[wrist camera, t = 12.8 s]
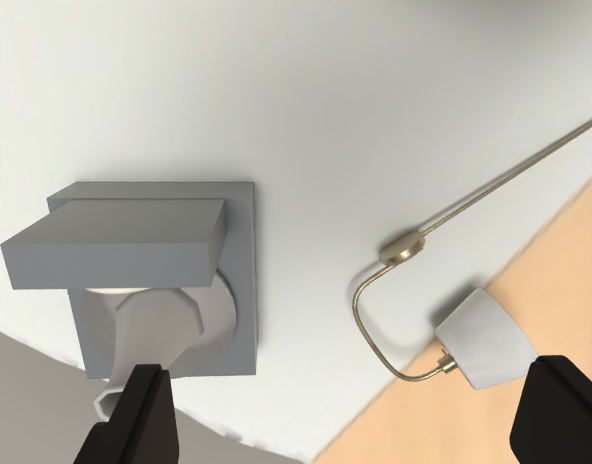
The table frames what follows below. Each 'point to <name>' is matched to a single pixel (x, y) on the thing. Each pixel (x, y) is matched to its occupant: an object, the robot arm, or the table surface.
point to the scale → (144, 252)
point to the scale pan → (200, 354)
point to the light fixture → (468, 316)
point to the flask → (149, 337)
